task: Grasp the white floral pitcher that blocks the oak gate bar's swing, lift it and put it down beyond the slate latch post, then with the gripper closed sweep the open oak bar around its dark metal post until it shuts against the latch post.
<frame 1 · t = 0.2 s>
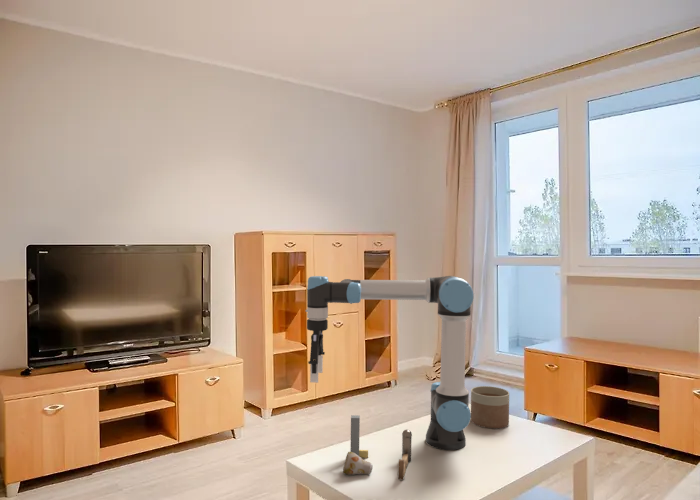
hand: (316, 377, 188), 28 cm above the table, fingers open, 13 cm apart
gate: (403, 461, 173), point 3 cm above the table, hinge at 80.0°
latch post: (354, 458, 183), on the table
hinge post: (406, 460, 182), on the table
planter: (489, 423, 222), on the table
white floral pitcher: (357, 474, 172), on the table
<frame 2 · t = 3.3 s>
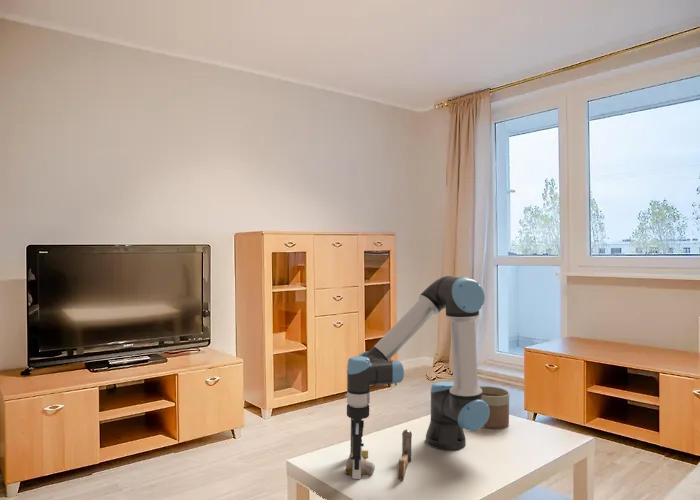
hand: (357, 472, 172), 0 cm above the table, fingers open, 8 cm apart
white floral pitcher: (359, 474, 172), on the table, touching gripper
everything else where it was.
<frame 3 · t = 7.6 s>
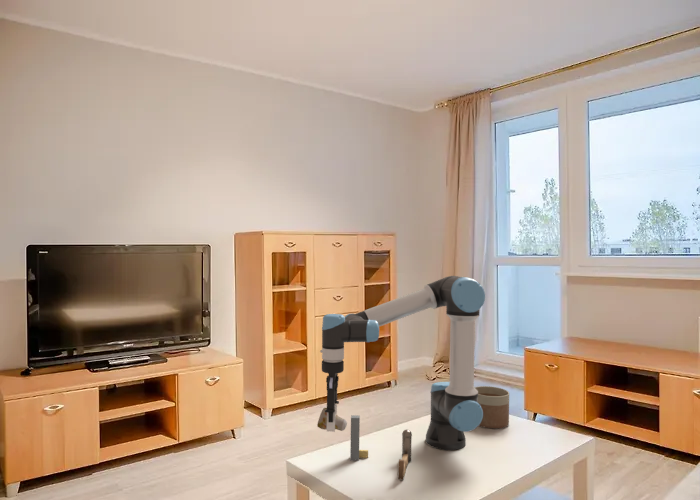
hand: (331, 426, 176), 14 cm above the table, fingers closed on white floral pitcher, 7 cm apart
white floral pitcher: (332, 429, 176), point 13 cm above the table, touching gripper
everything else where it was.
when the fingers open (1 cm above the table, at t = 10.8 s): white floral pitcher stays where it is, on the table.
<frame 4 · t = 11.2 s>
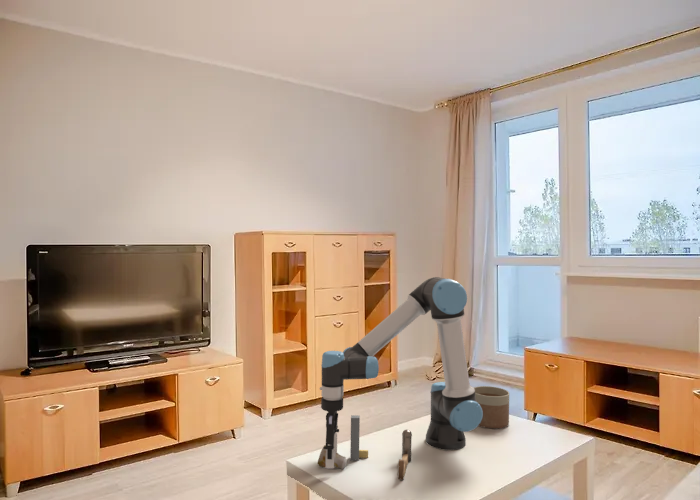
hand: (331, 459, 176), 2 cm above the table, fingers open, 13 cm apart
white floral pitcher: (332, 467, 177), on the table
everything else where it was.
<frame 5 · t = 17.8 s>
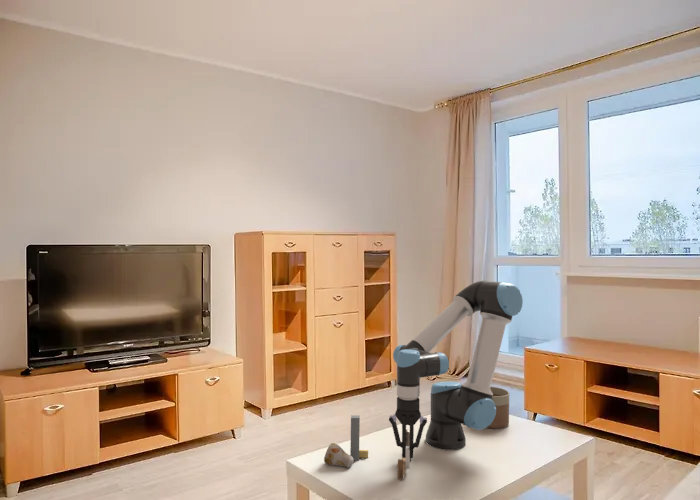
hand: (407, 467, 173), 2 cm above the table, fingers closed
gate: (403, 461, 173), point 3 cm above the table, hinge at 79.0°, touching gripper
white floral pitcher: (339, 465, 178), on the table
everything else where it was.
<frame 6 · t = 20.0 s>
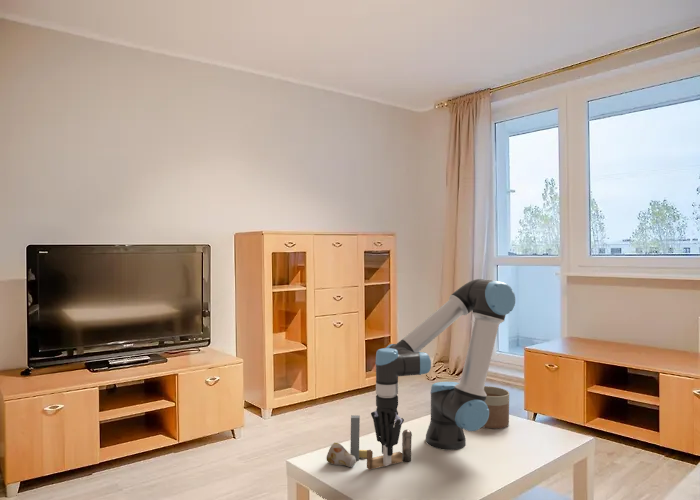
hand: (387, 463, 176), 1 cm above the table, fingers closed
gate: (384, 456, 178), point 3 cm above the table, hinge at 32.6°, touching gripper
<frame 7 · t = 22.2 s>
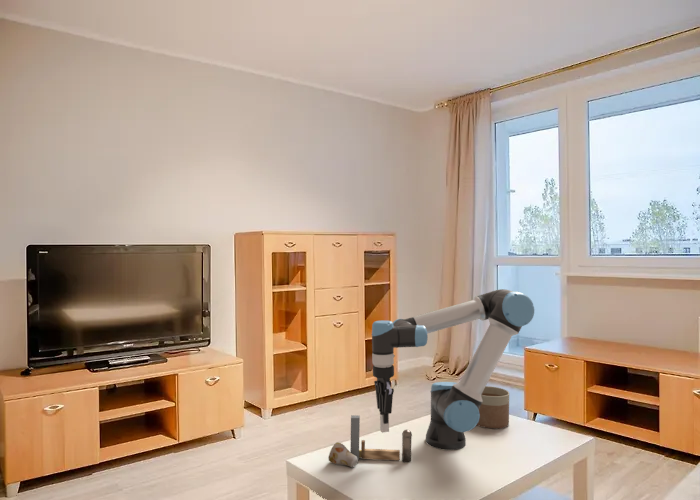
hand: (384, 431, 183), 10 cm above the table, fingers closed
gate: (380, 450, 183), point 3 cm above the table, hinge at -0.4°
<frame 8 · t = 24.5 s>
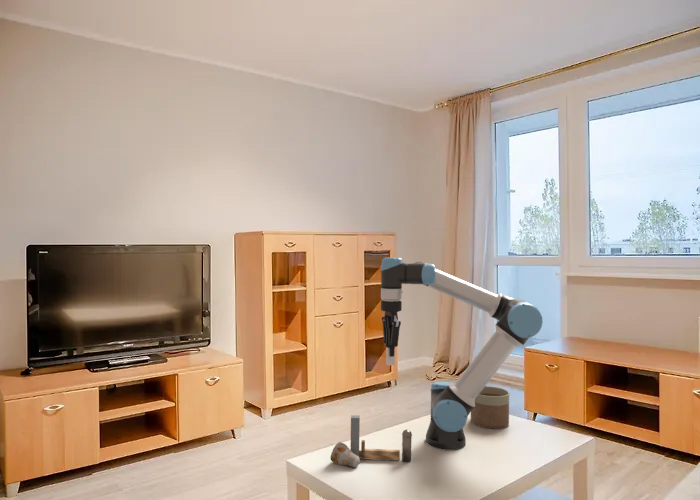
hand: (390, 364, 188), 32 cm above the table, fingers closed
at the end: gate at +0° (first picture: +80°); white floral pitcher inside the target area (6.5 cm from its centre), on the table; the gripper is holding nothing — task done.
